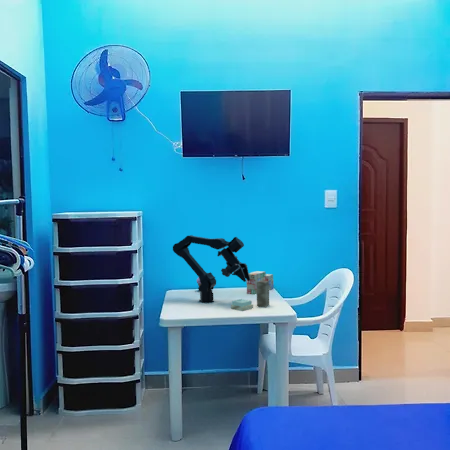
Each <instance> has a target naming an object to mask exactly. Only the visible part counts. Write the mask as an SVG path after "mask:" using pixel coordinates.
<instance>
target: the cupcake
mask: <svg viewBox="0 0 450 450" xmlns="http://www.w3.org/2000/svg"><path fill="white" fill-rule="evenodd" d="M196 284H197V285H198V287H199V286H200V285H201V282H200V279H199V277H197V278H196Z"/></svg>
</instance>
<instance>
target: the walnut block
mask: <svg viewBox="0 0 450 450" xmlns="http://www.w3.org/2000/svg"><path fill="white" fill-rule="evenodd" d="M268 305H269V306H270V290H269V281H261V280H260V281H258V282H257V294H256V306H258V307H259V308H267V307H269V306H268ZM258 307H257V308H258Z"/></svg>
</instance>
